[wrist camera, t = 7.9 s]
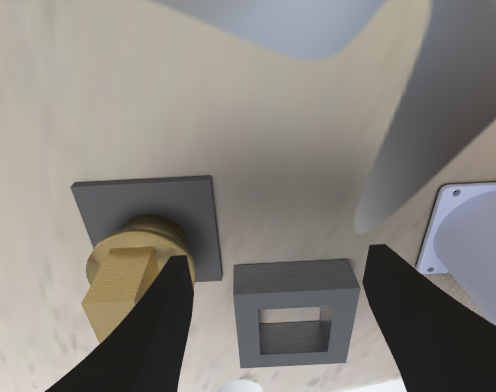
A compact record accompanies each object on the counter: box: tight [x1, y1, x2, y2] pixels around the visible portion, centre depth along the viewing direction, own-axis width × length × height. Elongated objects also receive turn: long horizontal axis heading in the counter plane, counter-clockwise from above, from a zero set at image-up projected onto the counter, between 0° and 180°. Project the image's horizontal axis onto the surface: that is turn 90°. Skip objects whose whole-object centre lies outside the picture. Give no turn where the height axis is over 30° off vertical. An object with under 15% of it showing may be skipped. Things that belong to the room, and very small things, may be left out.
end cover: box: [81, 214, 196, 343], centre depth 20 cm, size 7×7×8 cm
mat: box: [71, 176, 222, 282], centre depth 23 cm, size 9×9×1 cm
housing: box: [233, 259, 360, 368], centre depth 26 cm, size 9×9×3 cm
